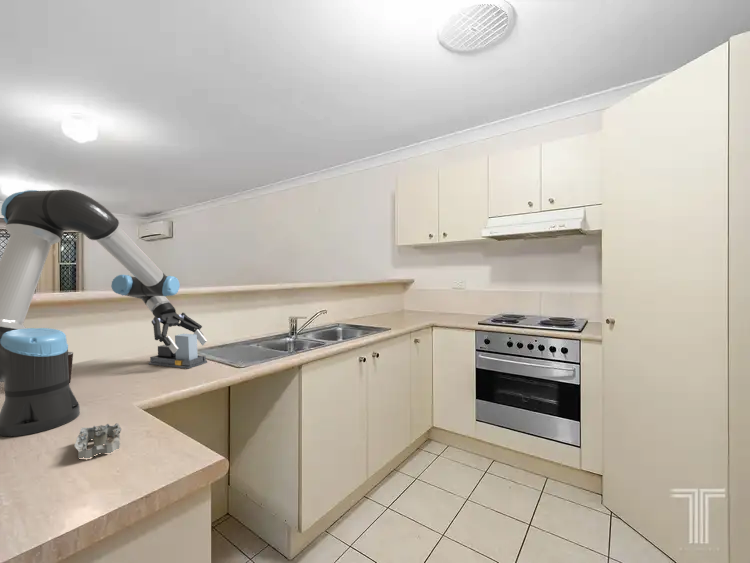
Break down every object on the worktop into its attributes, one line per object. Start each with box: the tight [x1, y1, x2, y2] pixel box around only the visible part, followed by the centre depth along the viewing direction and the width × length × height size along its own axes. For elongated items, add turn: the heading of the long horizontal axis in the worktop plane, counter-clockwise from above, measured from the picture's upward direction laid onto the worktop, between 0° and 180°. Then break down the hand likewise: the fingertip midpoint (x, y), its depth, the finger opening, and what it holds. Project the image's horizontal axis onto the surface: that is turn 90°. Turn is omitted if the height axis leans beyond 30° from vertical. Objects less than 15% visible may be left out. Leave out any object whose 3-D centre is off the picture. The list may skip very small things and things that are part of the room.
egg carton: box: [74, 423, 122, 458], centre depth 75 cm, size 11×8×4 cm
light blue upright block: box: [174, 333, 199, 360], centre depth 138 cm, size 4×7×11 cm, turn 70°
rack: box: [148, 344, 208, 370], centre depth 140 cm, size 9×21×7 cm, turn 70°
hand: (191, 347), depth 137 cm, fingers open, 13 cm apart
